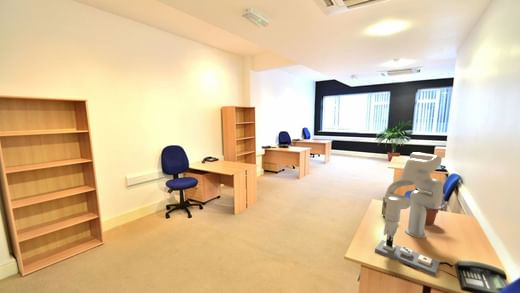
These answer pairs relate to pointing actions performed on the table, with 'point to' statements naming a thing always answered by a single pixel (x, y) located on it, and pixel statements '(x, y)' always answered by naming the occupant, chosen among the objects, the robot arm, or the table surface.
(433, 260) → the keypad board
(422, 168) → the robot arm
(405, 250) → the white small block
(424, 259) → the tile
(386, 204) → the coffee box
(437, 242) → the table surface
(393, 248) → the tile
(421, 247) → the table surface
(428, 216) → the potted plant
